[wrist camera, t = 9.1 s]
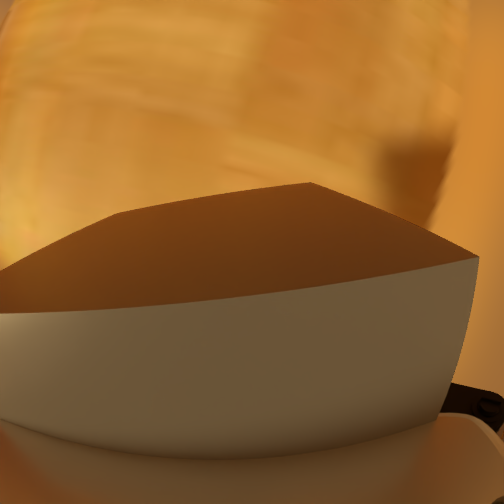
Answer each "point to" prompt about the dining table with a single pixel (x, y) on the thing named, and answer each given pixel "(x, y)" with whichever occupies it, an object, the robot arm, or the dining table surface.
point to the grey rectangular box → (235, 327)
